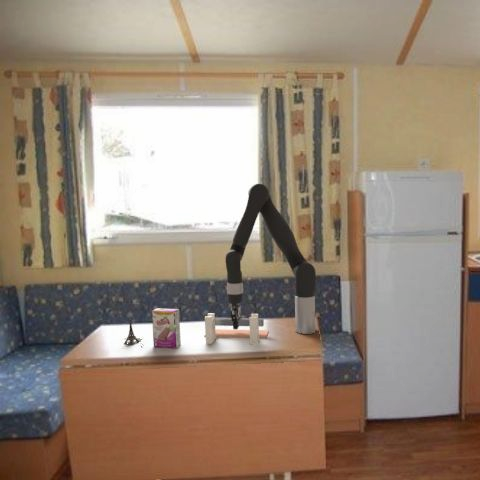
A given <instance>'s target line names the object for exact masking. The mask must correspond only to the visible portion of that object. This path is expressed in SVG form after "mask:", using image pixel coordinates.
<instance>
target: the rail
mask: <svg viewBox="0 0 480 480" xmlns="http://www.w3.org/2000/svg"><path fill="white" fill-rule="evenodd" d="M234 319H236V318H234ZM258 325H259V327H264V326H265V320H264V318H263V317H262V318H259V317H258ZM216 326H220V327H221V326H224V327H226V326H227V327H230V326H231V327H233V321H232V320H231V317H215V327H216ZM238 326H239V327H250V321H249V317H240V318H238Z"/></svg>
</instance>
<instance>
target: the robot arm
mask: <svg viewBox="0 0 480 480" xmlns="http://www.w3.org/2000/svg"><path fill="white" fill-rule="evenodd" d="M247 192H248V198H247V203H246V206H245V210H244V212H243V215H242V217H241V218H240V221H239V223H238V225H237V228H236V230H235V232H234V236H233V238H232V244H231V246H230V249H229V251H228V252H226V255H225V268H226V274H227V275H226V277H227V278H226V281H227V282H226V284H227V285H226V293H227V296H226V297H227V299H226V300H227V303H229V304H231V306H230V318H231V320H232V321H233V326H232V330H239V327H240V326H238V318H241V306H242V305H241V304H242V303H243V302H244V285H243V273H242V270H241V268H242V267H241V261H242V260H243V258H244V254H245V250H246V248H247V245H248V242H249V240H250V238H251V235H252V234H253V233H252V232H253V229H254V227H255V224H256V221H257V218H258V216H259V214H261V217H262V219H263V222H264V223H265V226H266V227H267V228H266V229H267V230H268V232H269V234H270V235H271V237H272V239H273V241H274V243H275V245H276V246H277V247H278V249H279V251H281V253H282V254H283V255H284V257H285V259H286V261H287V262H288V265H289V267H290V269H291V272H292V275H294V278H295V289H294V313H295V314H294V315H295V317H294V318H295V322H294V323H295V332H296V333H297V332H298V333H297V334H301V333H302V334H303V335H310V334H311V335H312V334H316V304H315V303H316V301H315V300H316V298H315V292H316V288H317V285H316V283H317V279H316V278H317V276H316V275H317V274H316V272H317V271H316V269H315V267H314V265H313V264H311V263H310V262H308V261H307V259H306V258H305V257H304V255H303V253H302V252H301V250H300V248H299V247H298V243H297V240H296V237H295V234H294V233H293V230H292V229H291V227H290V225H289V224H288V222H287V221H286V219H285V218H284V217H283V215H282V214H281V213H280V212H279V210H278V209H277V208H276V206H275V205H274V202H273V200H272V198H271V196H270V191H269V189H268V187H267V186H266V185H265V184H263V183H253V184H252V185H251V186H250V188H249V189H248V191H247ZM234 318H236V319H234Z"/></svg>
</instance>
